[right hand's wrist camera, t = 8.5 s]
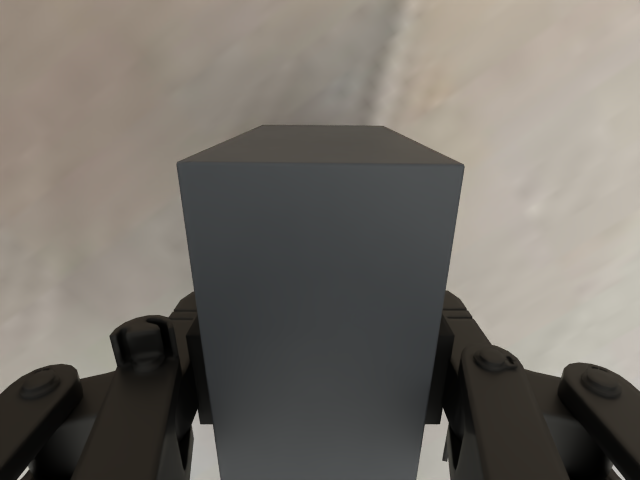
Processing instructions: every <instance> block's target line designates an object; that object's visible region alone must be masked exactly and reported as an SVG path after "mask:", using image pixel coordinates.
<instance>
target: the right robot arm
mask: <svg viewBox="0 0 640 480" xmlns="http://www.w3.org/2000/svg"><path fill="white" fill-rule="evenodd" d="M110 340H111V344H112V348H113V352H114V355H115V359H116V363H117V368H116V371H113V372H109V373H106V374H101V375H96V376H92V377H87V378H83V379H80V378H79V375H78V372H77V370H76V369H75V368H74V367H73V366H71V365H65V364H57V365H49V366H46V367H43V368H39V369H36V370H34V371H32V372H30V373H28V374H26V375H24V376H22V377H21V378H19V379H18V380H16V381H15V382H14V383H12V384H11V385H10V386H9V387H8V388H6V389H5V390H4V391H3V392H2V393H1V394H0V480H17V479H18V477H19V476H20V475H21V474H22V472H23V471H24V470H25V469H26V467H27V466H28V467H29V470H28V472H27V473H26V474H25V475H24V477H23V478H22V479H20V480H190V471H191V461H192V451H193V441H194V437H193V431H192V425H191V424H192V422H193V419H194V417H195V414H196V412H197V409H198V413H199V419H200V424H213V421H212V414H211V407H210V399H209V392H208V385H207V378H206V371H205V364H204V357H203V349H202V342H201V335H200V328H199V321H198V314H197V307H196V300H195V292H192V293H190V294H189V295H187V296H186V297H184V298H183V299H182V300H180V302H179V303H178V305H177V306H176V308H175V309H174V312H172V313H171V315H170V316H169V318H168V317H164V316H160V315H148V316H143V317H138V318H135V319H133V320H130V321H128V322H125V323H123V324H122V325H120V326H119V327H117V328H116V329H115V330H114V331H113V332H112V334H111V335H110ZM442 409H444V411H445V414H446V417H447V419H448V422H449V425H448V430H447V436H446V442H445V447H444V453H443V459H442V461H447V459H448V460H449V470H450V480H622V479H621V478H620V477H619V476H618V475H617V474H616V473H615V472H614V470H613V469H612V466H613V464H614V466H615V467H616V468H617V469H618V471H619V472H620V473H621V474H622V476H623V477H624V478H625V479H626V480H640V391H639V390H637V389H636V388H635V387H634V386H633V385H632V384H631V383H629V382H628V381H627V380H625V379H624V378H623V377H621V376H620V375H618V374H616V373H614V372H612V371H610V370H608V369H606V368H603V367H601V366H597V365H593V364H588V363H573V364H569V365H568V366H566V367H565V368H564V370H563V373H562V376H561V378H560V377H556V376H551V375H546V374H542V373H537V372H533V371H529V370H526V369H524V368H523V366H522V364H521V363H520V361H519V360H518V358H516V357H515V356H514V355H512V354H511V353H510V352H509V351H506V350H504V349H502V348H500V347H498V346H494V345H491V343H490V342H489V340H488V339H487V337H486V336H485V334H484V333H483V332H482V330H481V329H480V327H479V326H478V324H477V323H476V321H475V320H474V319H472V316H471V314H470V313H469V311H467V308H466V307H465V306H464V304H463V303H462V301H461V300H460V299H459V298H458V297H456V296H455V295H453V294H452V293H450V292H449V291H445V296H444V303H443V309H442V316H441V322H440V329H439V335H438V341H437V348H436V354H435V361H434V367H433V374H432V380H431V387H430V393H429V400H428V406H427V413H426V419H425V424H440V421H441V415H442Z"/></svg>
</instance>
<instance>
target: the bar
mask: <svg viewBox="0 0 640 480" xmlns="http://www.w3.org/2000/svg"><path fill="white" fill-rule="evenodd" d="M177 171H178V178H179V185H180V192H181V200H182V207H183V214H184V221H185V228H186V235H187V242H188V250H189V257H190V264H191V271H192V278H193V285H194V292H195V300H196V307H197V314H198V321H199V328H200V335H201V342H202V349H203V357H204V364H205V371H206V378H207V385H208V392H209V399H210V407H211V414H212V421H213V428H214V435H215V442H216V449H217V457H218V464H219V471H220V478H221V480H416V477H417V471H418V464H419V458H420V451H421V445H422V438H423V432H424V426H425V419H426V413H427V406H428V400H429V393H430V387H431V380H432V374H433V367H434V361H435V354H436V348H437V341H438V335H439V329H440V322H441V316H442V309H443V303H444V296H445V290H446V283H447V277H448V270H449V264H450V257H451V251H452V244H453V238H454V232H455V225H456V219H457V212H458V206H459V199H460V193H461V186H462V180H463V173H464V164H462V163H459V162H457V161H455V160H453V159H451V158H449V157H447V156H445V155H443V154H441V153H439V152H436V151H434V150H432V149H430V148H428V147H426V146H424V145H422V144H420V143H418V142H416V141H414V140H411V139H409V138H407V137H405V136H403V135H401V134H399V133H397V132H395V131H393V130H391V129H389V128H386V127H384V126H324V125H262V126H260V127H257V128H255V129H253V130H250V131H248V132H246V133H243V134H241V135H239V136H236V137H234V138H232V139H229V140H227V141H225V142H223V143H220V144H218V145H216V146H213V147H211V148H209V149H206V150H204V151H202V152H199V153H197V154H195V155H192V156H190V157H188V158H185V159H183V160H181V161H178V162H177Z"/></svg>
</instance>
